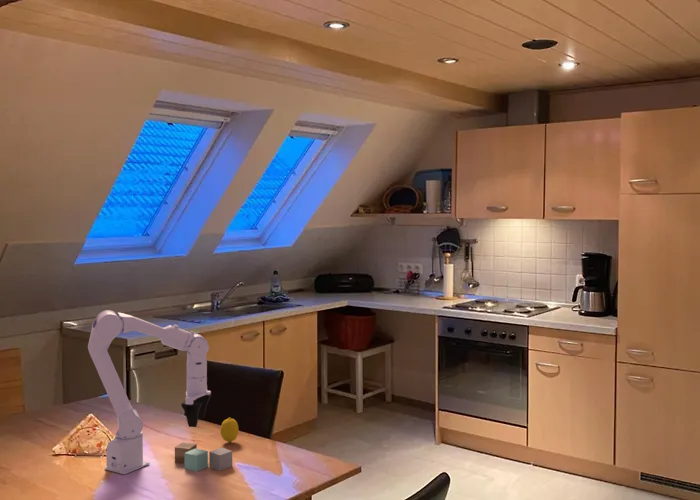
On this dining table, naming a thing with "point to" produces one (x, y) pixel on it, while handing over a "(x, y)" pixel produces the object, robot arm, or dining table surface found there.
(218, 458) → the grey block
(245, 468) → the dining table surface
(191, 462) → the teal block
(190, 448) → the walnut block
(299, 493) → the dining table surface
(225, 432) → the lemon
